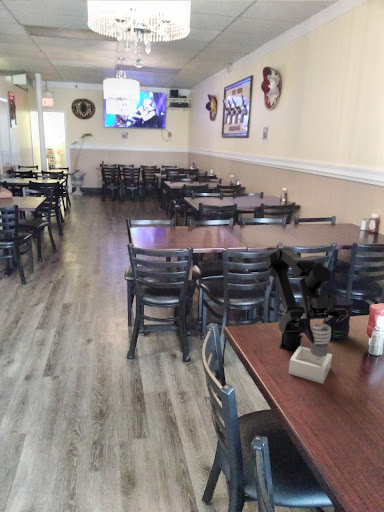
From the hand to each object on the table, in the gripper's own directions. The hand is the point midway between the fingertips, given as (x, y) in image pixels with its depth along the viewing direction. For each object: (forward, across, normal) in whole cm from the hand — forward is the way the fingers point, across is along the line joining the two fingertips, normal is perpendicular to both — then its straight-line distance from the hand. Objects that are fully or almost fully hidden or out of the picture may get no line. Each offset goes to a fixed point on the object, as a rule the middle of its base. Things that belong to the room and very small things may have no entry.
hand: (322, 342), depth 122 cm
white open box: (+6, 0, +13) cm, 14 cm away
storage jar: (-10, +21, +30) cm, 38 cm away
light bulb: (+4, 0, +6) cm, 7 cm away
